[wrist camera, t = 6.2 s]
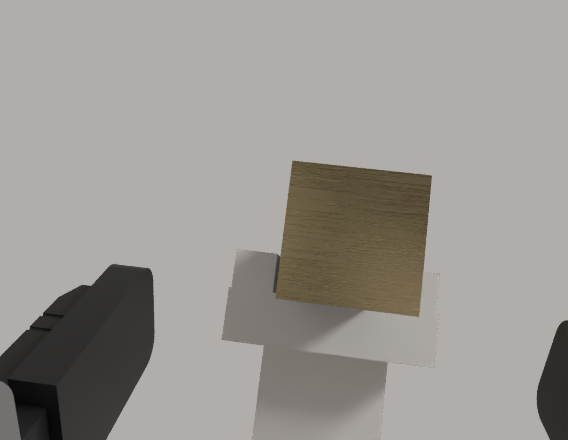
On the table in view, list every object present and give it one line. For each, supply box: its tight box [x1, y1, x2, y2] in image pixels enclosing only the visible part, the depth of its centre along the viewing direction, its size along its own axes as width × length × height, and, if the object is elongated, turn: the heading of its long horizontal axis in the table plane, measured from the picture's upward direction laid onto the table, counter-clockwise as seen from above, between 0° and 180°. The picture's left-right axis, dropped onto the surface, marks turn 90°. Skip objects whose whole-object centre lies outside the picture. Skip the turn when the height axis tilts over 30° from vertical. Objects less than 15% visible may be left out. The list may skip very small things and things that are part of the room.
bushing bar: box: [275, 161, 432, 317], centre depth 22 cm, size 3×23×3 cm, turn 176°
